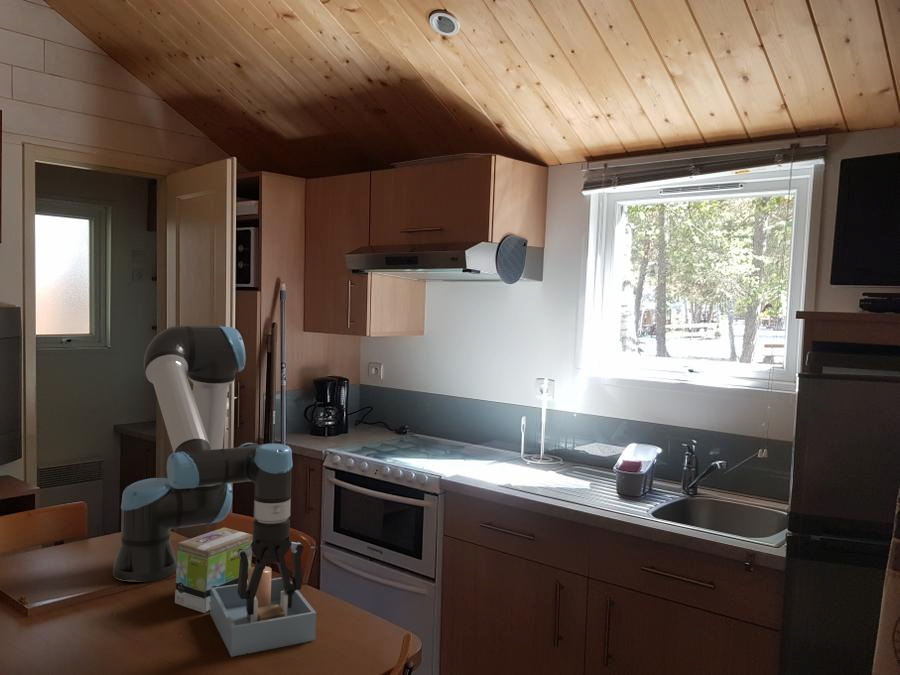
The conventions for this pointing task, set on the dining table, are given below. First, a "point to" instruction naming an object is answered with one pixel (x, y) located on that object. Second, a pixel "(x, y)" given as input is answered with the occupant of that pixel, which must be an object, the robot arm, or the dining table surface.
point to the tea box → (208, 566)
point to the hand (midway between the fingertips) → (268, 625)
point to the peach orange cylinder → (262, 588)
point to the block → (270, 612)
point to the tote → (260, 634)
